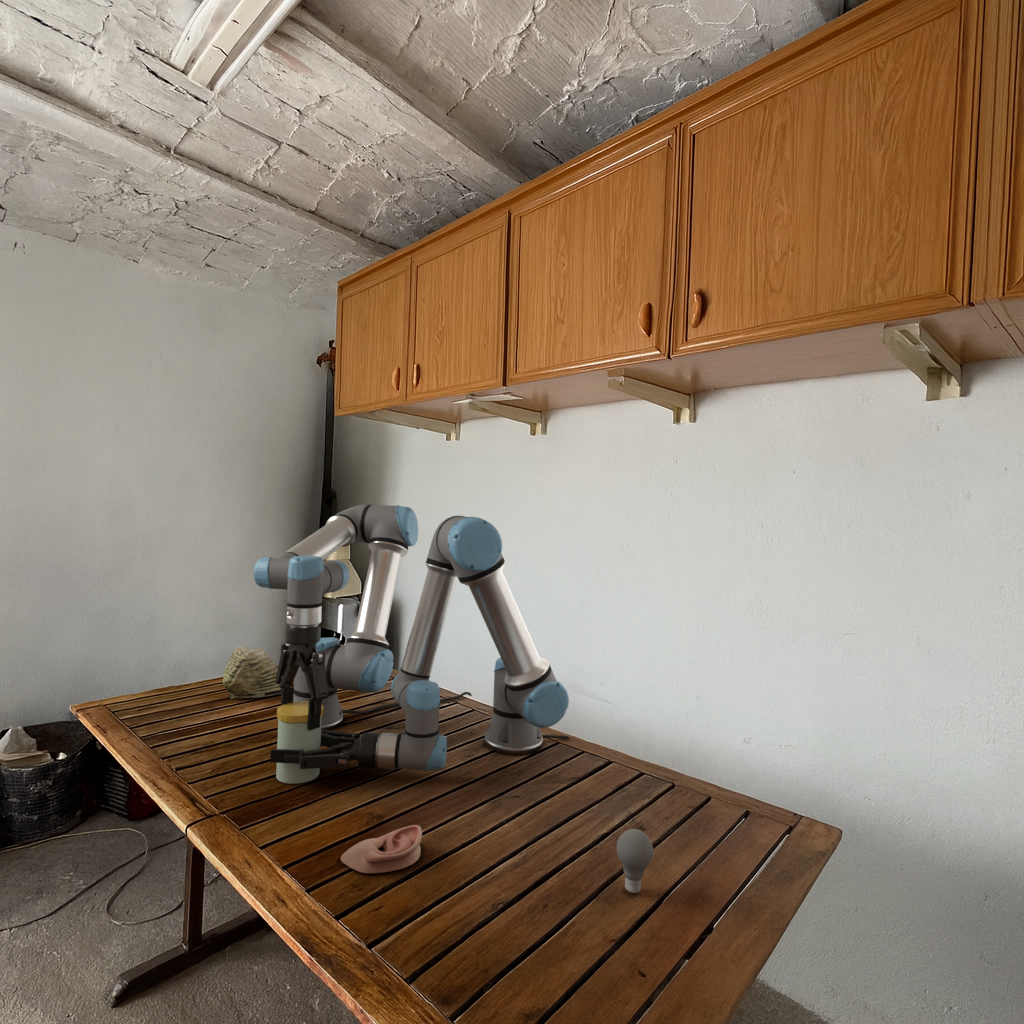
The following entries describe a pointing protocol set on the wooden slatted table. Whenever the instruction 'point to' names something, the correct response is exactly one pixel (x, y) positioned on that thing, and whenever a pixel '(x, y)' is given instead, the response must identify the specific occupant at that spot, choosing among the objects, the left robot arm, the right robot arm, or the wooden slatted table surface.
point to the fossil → (250, 674)
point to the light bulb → (634, 857)
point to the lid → (295, 712)
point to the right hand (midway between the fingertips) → (279, 746)
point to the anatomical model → (385, 851)
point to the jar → (297, 739)
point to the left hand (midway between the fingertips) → (299, 722)
